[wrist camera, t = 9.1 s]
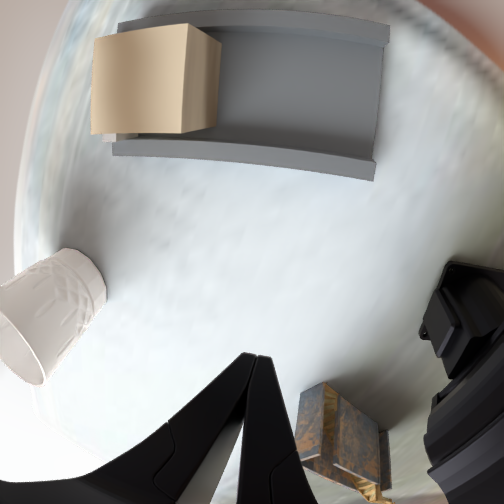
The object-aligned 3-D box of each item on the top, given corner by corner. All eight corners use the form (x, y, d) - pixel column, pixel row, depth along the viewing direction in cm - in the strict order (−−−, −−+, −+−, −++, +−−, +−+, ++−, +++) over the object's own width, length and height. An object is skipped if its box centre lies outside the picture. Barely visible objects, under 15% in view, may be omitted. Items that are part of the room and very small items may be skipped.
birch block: (222, 43, 15) (188, 23, 10) (216, 126, 17) (180, 133, 12) (144, 49, 15) (94, 38, 11) (140, 125, 18) (90, 134, 13)
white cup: (77, 321, 28) (19, 385, 19) (38, 254, 26) (-33, 308, 17) (128, 309, 26) (63, 389, 17) (83, 228, 23) (-6, 291, 14)
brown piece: (391, 425, 27) (396, 505, 18) (367, 436, 28) (367, 514, 20) (327, 376, 25) (320, 476, 16) (300, 390, 26) (287, 484, 18)
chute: (381, 31, 13) (394, 16, 10) (365, 177, 17) (375, 190, 14) (137, 26, 15) (109, 16, 12) (131, 153, 19) (103, 162, 16)
